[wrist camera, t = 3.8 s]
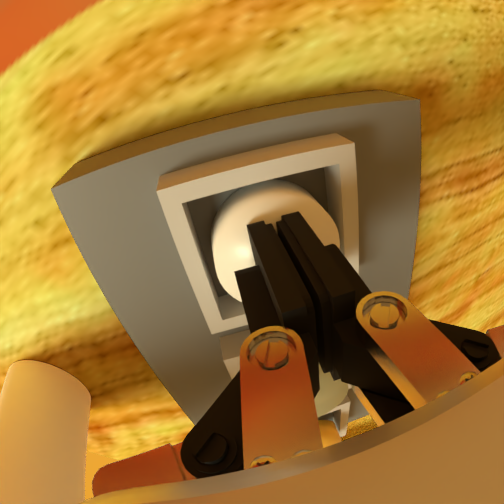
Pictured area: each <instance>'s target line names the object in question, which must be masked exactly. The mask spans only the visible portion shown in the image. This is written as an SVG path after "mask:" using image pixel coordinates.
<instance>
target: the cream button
mask: <svg viewBox="0 0 504 504" xmlns="http://www.w3.org/2000/svg"><path fill="white" fill-rule="evenodd" d="M297 211H299V212H300V213H301V215H302V216H303V217H304V219H305V220H306V222H307V223H308V224H309V226H310V227H311V228H312V230H313V231H314V232H315V234H316V235H317V237H318V238H319V239H320V241H321V242H322V243H323V245H324V246H326V245H330V244H335V245H336V246H337V247H338V248H339V249H340V239H339V233H338V229H337V227H336V225H335V222H334V221H333V219H332V218H331V216H330V215H329V214H328V213H327V212H326V211H325V210H324V209H323V207H322V206H321V205H320V204H319V203H318V202H317V201H316V200H315V199H314V197H313V196H312V195H311V194H310V193H309V192H308V191H306V190H305V189H304V188H302V187H300V186H299V185H297V184H294V183H291V182H288V181H284V180H266V181H262V182H258V183H254V184H250V185H247V186H245V187H243V188H241V189H239V190H238V191H236V192H235V193H234V194H232V195H231V196H230V197H229V198H228V199H227V200H226V201H225V202H224V203H223V204H222V206H221V207H220V208H219V210H218V212H217V214H216V215H215V218H214V220H213V223H212V228H211V246H212V252H213V258H214V263H215V269H216V273H217V277H218V279H219V281H220V283H221V285H222V286H223V288H224V289H225V290H226V291H227V292H228V293H229V294H230V295H231V296H232V297H233V298H235V299H237V300H238V301H240V302H242V300H241V296H240V292H239V289H238V285H237V281H236V277H235V273H234V271H238V270H241V269H245V268H249V267H252V266H256V265H255V261H254V256H253V252H252V248H251V244H250V239H249V235H248V231H247V225H248V224H252V223H256V222H259V221H264V222H265V224H270V223H272V225H273V227H274V229H275V230H276V232H277V227H276V222H277V221H281V216H282V215H286V214H289V213H293V212H297ZM277 234H278V233H277Z"/></svg>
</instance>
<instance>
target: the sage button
mask: <svg viewBox="0 0 504 504" xmlns="http://www.w3.org/2000/svg"><path fill="white" fill-rule="evenodd" d="M319 382H320V390H319V392H318V393H317V395H316V397H315V399H314V401H315V407H316V412H317V417H320V416H322V415H324V414H326V413H328V412H329V411H331V410H332V409H334V408H335V407H336V406H338V405H339V404H340V403H341V402H342V401H343V399H344V398H345V397H346V395H347V393H348V385H347V383H344V382H342V381H341V379H338V380H335V381H334V380H333V378H332V376H331V374H330V372H328V373H324V372H323V371H322V369H321V366H320V364H319Z"/></svg>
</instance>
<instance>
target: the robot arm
mask: <svg viewBox="0 0 504 504" xmlns="http://www.w3.org/2000/svg"><path fill="white" fill-rule="evenodd" d="M276 227H277V232H276V230H275V229H274V227H273V225H272V223H270V224H265V222H264V221H259V222H256V223H252V224H248V225H247V231H248V235H249V239H250V244H251V248H252V252H253V256H254V261H255V265H256V266H252V267H249V268H245V269H241V270H238V271H234V273H235V277H236V281H237V285H238V289H239V292H240V296H241V300H242V304H243V307H244V311H245V315H246V319H247V322H248V326H249V330H250V333H251V334H250V335H249V336H248V337H247V338H246V339H245V340H244V342H243V344H242V346H241V349H240V370H239V372H238V373H237V374H236V375H235V377H234V378H233V379H232V380H231V382H230V383H229V384H228V386H227V387H226V388H225V389H224V391H223V392H222V393H221V394H220V396H219V397H218V398H217V399H216V401H215V402H214V403H213V404H212V406H211V407H210V408H209V409H208V410H207V412H206V413H205V414H204V415H203V417H202V418H201V419H200V420H199V421H198V423H197V424H196V425H195V426H194V427H193V429H192V430H191V431H190V432H189V433H188V435H187V436H186V438H185V439H184V441H183V442H181V443H179V444H176V445H173V446H172V445H171V444H170V443H169V444H167V445H164V446H161V447H158V448H156V449H153V450H150V451H147V452H144V453H142V454H139V455H136V456H133V457H130V458H127V459H123V460H120V461H117V462H114V463H111V464H108V465H106V466H104V467H102V468H100V469H99V470H98V471H97V472H96V474H95V475H94V478H93V481H92V490H93V495H94V497H93V498H90V499H87V500H85V501H83V502H81V503H79V504H504V325H502V326H498V327H495V328H492V329H488V330H487V332H486V334H484V333H482V332H479V331H476V330H472V329H467V328H463V327H459V326H455V325H450V324H446V323H442V322H438V321H433V320H429V319H427V318H426V317H425V316H424V315H423V314H422V313H421V312H420V311H419V310H418V309H417V308H416V307H415V306H413V305H412V304H411V303H410V302H409V301H408V300H407V299H406V298H404V297H403V296H401V295H399V294H397V293H394V292H388V291H380V292H374V293H372V292H371V291H370V290H369V288H368V287H367V285H366V284H365V283H364V281H363V280H362V279H361V277H360V276H359V275H358V273H357V272H356V271H355V269H354V268H353V267H352V265H351V264H350V263H349V261H348V260H347V259H346V257H345V256H344V255H343V253H342V252H341V251H340V249H339V248H338V247H337V246H336V245H335V244H330V245H326V246H324V245H323V243H322V242H321V241H320V239H319V238H318V237H317V235H316V234H315V232H314V231H313V230H312V228H311V227H310V226H309V224H308V223H307V222H306V220H305V219H304V217H303V216H302V215H301V213H300V212H299V211H297V212H293V213H289V214H286V215H282V216H281V221H277V222H276ZM277 233H278V234H277ZM319 364H320V366H321V369H322V371H323V372H324V373H328V372H330V374H331V376H332V378H333V380H334V381H335V380H338V379H341V381H342V382H344V383H347V384H350V385H351V386H352V389H353V391H354V393H355V394H356V396H357V397H358V399H359V400H360V401H361V403H362V404H363V406H364V407H365V408H366V410H367V411H368V413H369V414H370V416H371V417H372V418H373V420H374V421H375V423H376V424H377V426H378V427H377V428H375V429H372V430H370V431H367V432H365V433H362V434H360V435H357V436H355V437H352V438H350V439H347V440H344V441H342V442H339V443H336V444H333V445H330V446H328V447H325V448H323V444H322V439H321V433H320V428H319V422H318V417H317V412H316V407H315V401H314V399H315V397H316V395H317V393H318V392H319V390H320V382H319Z"/></svg>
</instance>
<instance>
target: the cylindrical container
mask: <svg viewBox="0 0 504 504" xmlns="http://www.w3.org/2000/svg"><path fill="white" fill-rule="evenodd" d="M90 406H91V396H90V393H89V391H88V390H87V388H86V387H85V386H84V385H83V384H82V383H81V382H80V381H79V380H78V379H77V378H75V377H74V376H72V375H71V374H69V373H68V372H66V371H64V370H62V369H60V368H58V367H55V366H53V365H50V364H47V363H44V362H40V361H34V360H21V361H17V362H15V363H13V364H12V365H11V366H10V367H9V369H8V372H7V375H6V378H5V381H4V384H3V388H2V391H1V394H0V504H79V503H81V502H83V501H85V466H86V449H87V436H88V424H89V415H90Z"/></svg>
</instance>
